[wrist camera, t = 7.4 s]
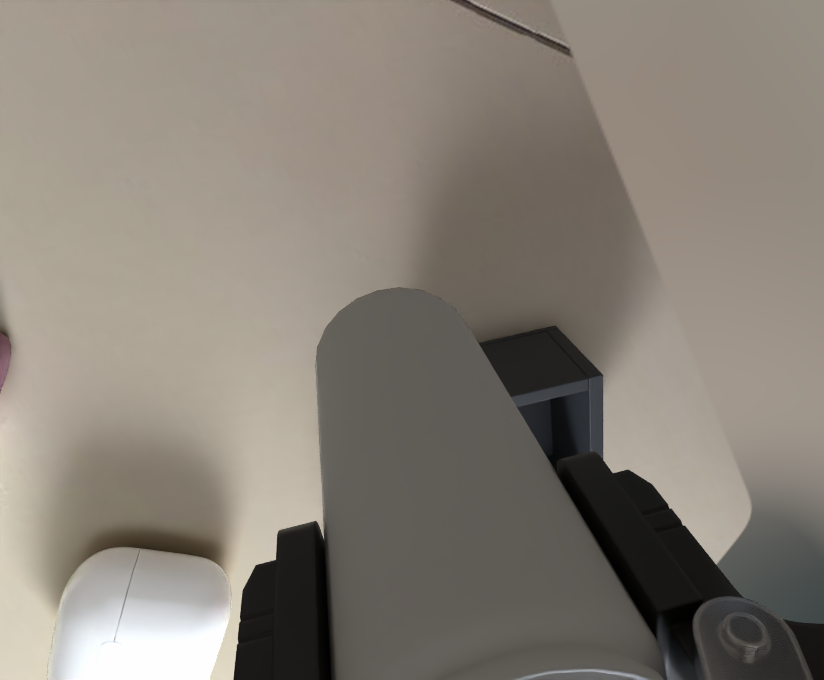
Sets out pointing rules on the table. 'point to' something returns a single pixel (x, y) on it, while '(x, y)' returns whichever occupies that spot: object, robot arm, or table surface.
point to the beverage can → (453, 517)
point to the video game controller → (4, 358)
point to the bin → (552, 390)
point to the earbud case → (140, 617)
